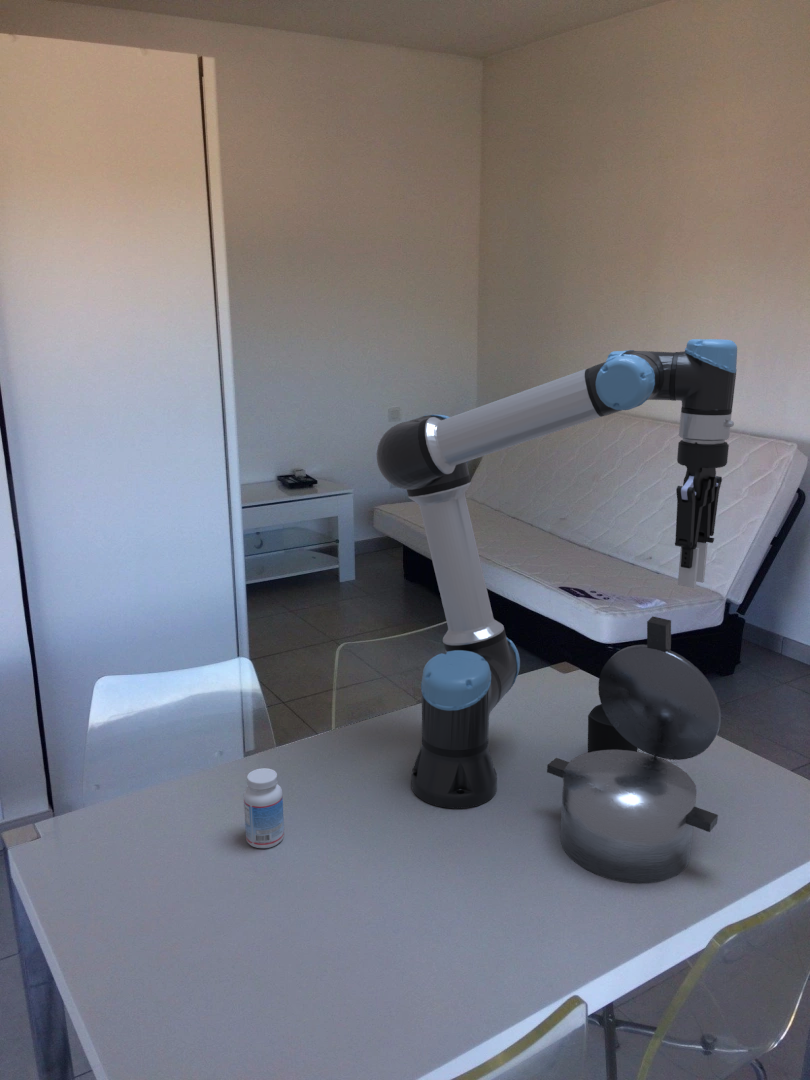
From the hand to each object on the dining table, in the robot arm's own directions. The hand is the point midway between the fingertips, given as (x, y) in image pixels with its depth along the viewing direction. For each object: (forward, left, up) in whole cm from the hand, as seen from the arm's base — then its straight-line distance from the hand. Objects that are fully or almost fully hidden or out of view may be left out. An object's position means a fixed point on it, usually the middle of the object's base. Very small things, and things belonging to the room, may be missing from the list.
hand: (690, 582), depth 143 cm
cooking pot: (0, -19, -39) cm, 43 cm away
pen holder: (-13, +3, -39) cm, 41 cm away
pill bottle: (-45, -54, -39) cm, 80 cm away
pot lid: (0, -11, -15) cm, 19 cm away
